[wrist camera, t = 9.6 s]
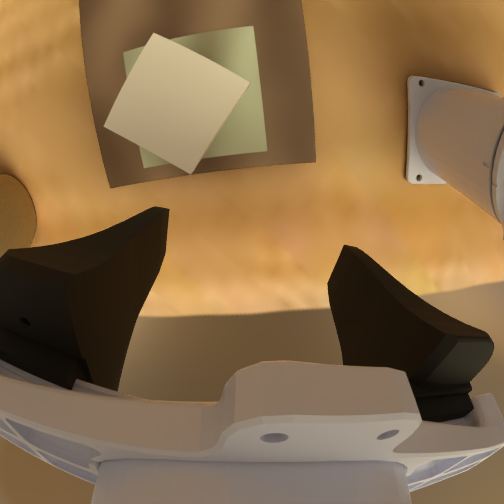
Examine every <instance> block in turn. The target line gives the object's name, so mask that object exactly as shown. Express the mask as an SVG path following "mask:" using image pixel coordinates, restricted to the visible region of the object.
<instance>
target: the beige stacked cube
mask: <svg viewBox="0 0 504 504" xmlns="http://www.w3.org/2000/svg"><path fill="white" fill-rule="evenodd" d="M251 84H252V83H250V82H248V81H247V80H245V79H243V78H242V77H240V76H238V75H237V74H235V73H233V72H231V71H230V70H228V69H226V68H224V67H222V66H221V65H219V64H217V63H215V62H213V61H211V60H209V59H208V58H206V57H204V56H202V55H200V54H198V53H196V52H194V51H192V50H190V49H188V48H186V47H184V46H182V45H180V44H177V43H175V42H173V41H171V40H169V39H167V38H164V37H162V36H160V35H158V34H155V33H153V34H152V36H151V37H150V39H149V41H148V42H147V44H146V45H145V47H144V49H143V50H142V52H141V54H140V55H139V57H138V59H137V61H136V62H135V64H134V66H133V68H132V70H131V71H130V73H129V75H128V77H127V79H126V81H125V83H124V85H123V87H122V88H121V90H120V92H119V94H118V96H117V98H116V101H115V103H114V105H113V107H112V109H111V111H110V113H109V115H108V118H107V120H106V122H105V124H104V127H105V128H107V129H109V130H111V131H113V132H115V133H117V134H119V135H120V136H122V137H124V138H126V139H128V140H130V141H132V142H133V143H135V144H137V145H139V146H141V147H142V148H144V149H146V150H148V151H150V152H152V153H153V154H155V155H157V156H159V157H161V158H162V159H164V160H166V161H168V162H169V163H171V164H173V165H175V166H177V167H178V168H180V169H182V170H184V171H185V172H187V173H189V174H192V172H193V171H194V169H195V168H196V166H197V165H198V163H199V162H200V160H201V159H202V157H203V156H204V154H205V153H206V151H207V150H208V148H209V147H210V145H211V144H212V142H213V140H214V139H215V137H216V136H217V134H218V133H219V131H220V129H221V128H222V126H223V125H224V123H225V122H226V120H227V119H228V117H229V116H230V114H231V113H232V111H233V110H234V108H235V107H236V105H237V104H238V102H239V101H240V99H241V98H242V97H243V95H244V94H245V92H246V91H247V89H248V88H249V87H250V85H251Z"/></svg>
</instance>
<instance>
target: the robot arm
mask: <svg viewBox="0 0 504 504" xmlns="http://www.w3.org/2000/svg"><path fill="white" fill-rule="evenodd" d="M420 80H421V81H422V86H421V87H420V85H419V81H420ZM407 86H408V145H407V165H406V180H407V181H408V182H409V183H410V184H449V185H451V186H452V187H454V188H455V189H457V190H458V191H459V192H461V193H462V194H463V195H465V196H466V197H468V198H469V199H470V200H472V201H473V202H474V203H475V204H477V205H478V206H479V207H481V208H482V209H483V210H484V211H486V212H487V213H488V214H489V215H491V216H492V217H493V218H494V219H496V220H497V221H498V222H499V223H500V224H502V227H503V232H504V97H501V96H500V94H498V93H495V92H492V91H488V90H484V89H481V88H477V87H473V86H468V85H464V84H459V83H455V82H450V81H444V80H439V79H433V78H427V77H421V76H410V77H409V78H408V80H407ZM417 175H420V176H419V178H418V179H416V177H417ZM168 219H169V209H167V208H161V207H152V208H149V209H147V210H145V211H143V212H141V213H139V214H137V215H135V216H133V217H131V218H129V219H127V220H125V221H123V222H121V223H119V224H116V225H114V226H112V227H110V228H108V229H105V230H103V231H100V232H98V233H95V234H92V235H89V236H86V237H83V238H79V239H75V240H71V241H67V242H63V243H59V244H53V245H47V246H41V247H32V248H18V249H8V250H7V251H6V252H5V253H4V254H3V255H2V257H1V258H0V436H2V437H3V438H5V439H7V440H8V441H10V442H11V443H14V444H15V445H16V446H18V447H20V448H21V449H23V450H25V451H27V452H28V453H30V454H32V455H34V456H36V457H38V458H39V459H41V460H43V461H45V462H47V463H49V464H51V465H53V466H55V467H57V468H59V469H61V470H63V471H65V472H67V473H70V474H72V475H74V476H76V477H79V478H81V479H84V480H86V481H88V482H91V483H94V484H95V488H94V493H93V497H92V502H91V504H412V502H411V497H410V491H413V490H416V489H420V488H422V487H425V486H428V485H431V484H433V483H436V482H439V481H441V480H444V479H447V478H449V477H452V476H454V475H457V474H459V473H462V472H464V471H467V470H469V469H471V468H472V467H474V466H475V465H477V464H478V463H480V462H482V461H483V460H485V459H486V458H488V457H489V456H491V455H492V454H493V453H495V452H496V451H498V450H499V449H500V448H502V447H503V446H504V420H503V417H502V415H501V412H500V410H499V408H498V406H497V403H496V401H495V399H494V397H493V395H492V393H488V394H483V395H478V396H475V397H473V398H472V399H470V397H469V395H468V393H469V392H470V391H472V387H471V385H470V381H471V380H472V379H473V378H474V377H475V376H476V375H477V374H478V373H479V372H480V371H481V369H482V368H483V367H484V366H485V365H486V364H487V362H488V361H489V359H490V358H491V356H492V354H493V350H494V343H493V341H492V339H491V338H490V336H489V335H488V334H487V333H486V332H485V331H482V330H480V329H477V328H475V327H472V326H470V325H467V324H465V323H463V322H461V321H459V320H457V319H455V318H453V317H451V316H449V315H447V314H445V313H443V312H442V311H440V310H438V309H436V308H435V307H433V306H432V305H430V304H428V303H427V302H425V301H424V300H422V299H421V298H420V297H418V296H417V295H415V294H414V293H413V292H411V291H410V290H409V289H407V288H406V287H405V286H404V285H402V284H401V283H400V282H399V281H397V280H396V279H395V278H394V277H393V276H392V275H390V274H389V273H388V272H387V271H386V270H385V269H383V268H382V267H381V266H380V265H379V264H378V263H377V262H375V261H374V260H373V259H372V258H371V257H370V256H368V255H367V254H366V253H364V252H363V251H362V250H360V249H359V248H357V247H353V246H348V245H344V246H343V248H342V251H341V253H340V256H339V258H338V260H337V263H336V265H335V267H334V269H333V272H332V274H331V276H330V279H329V281H328V283H327V284H328V295H329V303H330V307H331V311H332V315H333V319H334V322H335V326H336V330H337V334H338V338H339V342H340V346H341V351H342V358H343V365H331V364H319V363H318V364H317V363H308V362H297V361H288V360H287V361H263V362H260V363H257V364H254V365H251V366H248V367H246V368H243V369H240V370H238V371H236V373H235V374H234V375H233V376H232V377H231V378H230V380H228V382H227V383H226V384H225V387H224V390H223V394H222V397H221V399H220V400H219V402H179V401H157V400H147V399H143V398H139V397H135V396H131V395H128V394H124V393H120V392H117V391H118V386H119V382H120V377H121V373H122V369H123V365H124V361H125V357H126V353H127V350H128V346H129V342H130V339H131V336H132V332H133V329H134V326H135V323H136V320H137V318H138V315H139V313H140V311H141V308H142V306H143V304H144V302H145V300H146V298H147V296H148V294H149V292H150V290H151V288H152V286H153V284H154V282H155V280H156V277H157V275H158V273H159V271H160V268H161V265H162V262H163V259H164V256H165V253H166V241H167V229H168ZM503 240H504V235H503Z"/></svg>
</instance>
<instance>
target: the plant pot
mask: <svg viewBox="0 0 504 504" xmlns="http://www.w3.org/2000/svg"><path fill="white" fill-rule="evenodd" d="M35 230H36V214H35V209H34V206H33V203H32V200H31V198H30V196H29V194H28V192H27V190H26V189H25V188H24V186H23V185H22V184H21V183H20V182H19V181H18V180H17V179H15V178H14V177H12V176H10V175H7V174H0V258H1V257H2V255H3V254H4V253H5V252H6V251H7V250H8V249H18V248H29V247H30V244H31V242H32V239H33V237H34V234H35Z"/></svg>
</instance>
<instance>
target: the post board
mask: <svg viewBox="0 0 504 504" xmlns="http://www.w3.org/2000/svg"><path fill="white" fill-rule="evenodd" d="M79 8H80V24H81V36H82V46H83V55H84V63H85V70H86V77H87V84H88V90H89V96H90V102H91V107H92V112H93V117H94V122H95V127H96V132H97V137H98V141H99V146H100V150H101V154H102V158H103V162H104V166H105V170H106V174H107V178H108V182H109V185H110V188H115V187H120V186H126V185H131V184H136V183H142V182H148V181H153V180H159V179H166V178H172V177H178V176H185V175H192V174H199V173H207V172H214V171H223V170H231V169H240V168H250V167H260V166H271V165H283V164H297V163H312V162H316V152H315V133H314V117H313V103H312V90H311V78H310V68H309V58H308V49H307V40H306V32H305V24H304V16H303V9H302V2H301V0H79ZM153 33H155V34H158V35H160V36H162V37H164V38H167V39H169V40H171V41H173V42H175V43H177V44H180V45H182V46H184V47H186V48H188V49H190V50H192V51H194V52H196V53H198V54H200V55H202V56H204V57H206V58H208V59H209V60H211V61H213V62H215V63H217V64H219V65H221V66H222V67H224V68H226V69H228V70H230V71H231V72H233V73H235V74H237V75H238V76H240V77H242V78H243V79H245V80H247V81H248V82H250V83H252V84H251V85H250V87H249V88H248V89H247V91H246V92H245V94H244V95H243V97H242V98H241V99H240V101H239V102H238V104H237V105H236V107H235V108H234V110H233V111H232V113H231V114H230V116H229V117H228V119H227V120H226V122H225V123H224V125H223V126H222V128H221V129H220V131H219V133H218V134H217V136H216V137H215V139H214V140H213V142H212V144H211V145H210V147H209V148H208V150H207V151H206V153H205V154H204V156H203V157H202V159H201V160H200V162H199V163H198V165H197V166H196V168H195V169H194V171H193V172H192V174H189V173H187V172H185V171H184V170H182V169H180V168H178V167H177V166H175V165H173V164H171V163H169V162H168V161H166V160H164V159H162V158H161V157H159V156H157V155H155V154H153V153H152V152H150V151H148V150H146V149H144V148H142V147H141V146H139V145H137V144H135V143H133V142H132V141H130V140H128V139H126V138H124V137H122V136H120V135H119V134H117V133H115V132H113V131H111V130H109V129H107V128H105V127H104V124H105V122H106V120H107V118H108V115H109V113H110V111H111V109H112V107H113V105H114V103H115V101H116V98H117V96H118V94H119V92H120V90H121V88H122V87H123V85H124V83H125V81H126V79H127V77H128V75H129V73H130V71H131V70H132V68H133V66H134V64H135V62H136V61H137V59H138V57H139V55H140V54H141V52H142V50H143V49H144V47H145V45H146V44H147V42H148V41H149V39H150V37H151V36H152V34H153Z"/></svg>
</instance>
